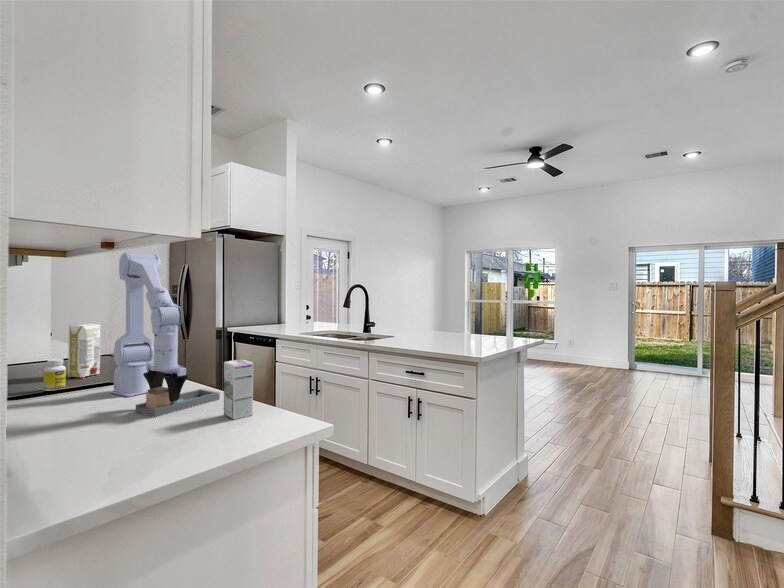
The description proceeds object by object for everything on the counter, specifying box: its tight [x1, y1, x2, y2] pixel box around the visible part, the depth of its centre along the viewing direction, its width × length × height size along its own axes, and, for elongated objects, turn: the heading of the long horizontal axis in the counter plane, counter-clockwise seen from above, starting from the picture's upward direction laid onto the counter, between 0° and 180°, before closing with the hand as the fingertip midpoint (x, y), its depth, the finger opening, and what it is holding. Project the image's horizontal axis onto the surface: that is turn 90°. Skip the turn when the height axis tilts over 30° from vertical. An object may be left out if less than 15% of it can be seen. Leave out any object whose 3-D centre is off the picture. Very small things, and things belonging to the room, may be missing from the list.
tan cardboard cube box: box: [145, 386, 172, 409], centre depth 110 cm, size 4×4×6 cm
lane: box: [135, 388, 221, 418], centre depth 116 cm, size 8×20×2 cm, turn 153°
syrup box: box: [223, 359, 254, 420], centre depth 108 cm, size 6×6×14 cm
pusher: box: [172, 399, 186, 404], centre depth 114 cm, size 6×5×2 cm
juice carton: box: [67, 323, 101, 377], centre depth 148 cm, size 8×9×19 cm
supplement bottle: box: [43, 358, 67, 389], centre depth 128 cm, size 5×5×10 cm
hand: (165, 398), depth 112 cm, fingers open, 7 cm apart
